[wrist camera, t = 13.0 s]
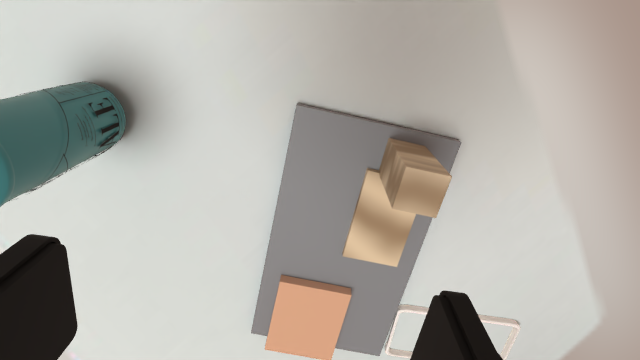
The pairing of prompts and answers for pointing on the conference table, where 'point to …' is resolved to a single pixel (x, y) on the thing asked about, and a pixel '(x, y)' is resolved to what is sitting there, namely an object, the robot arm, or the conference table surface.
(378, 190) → the stepped wooden block
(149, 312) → the conference table surface
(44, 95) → the beverage bottle
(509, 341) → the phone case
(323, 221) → the slate board
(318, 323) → the tile
